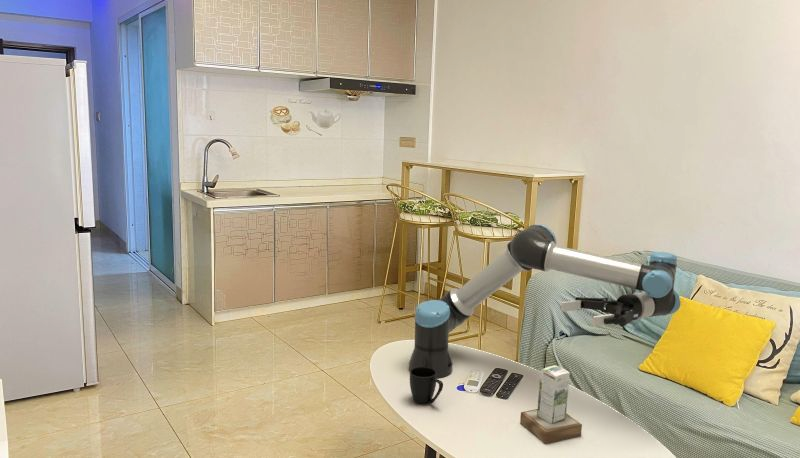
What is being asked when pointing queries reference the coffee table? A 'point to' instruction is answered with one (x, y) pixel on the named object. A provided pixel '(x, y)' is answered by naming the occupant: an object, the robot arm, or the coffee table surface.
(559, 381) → the syrup box
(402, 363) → the coffee table surface
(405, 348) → the coffee table surface
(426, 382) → the mug
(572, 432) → the walnut stand
